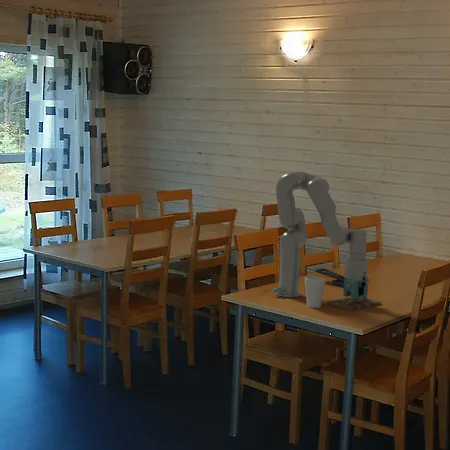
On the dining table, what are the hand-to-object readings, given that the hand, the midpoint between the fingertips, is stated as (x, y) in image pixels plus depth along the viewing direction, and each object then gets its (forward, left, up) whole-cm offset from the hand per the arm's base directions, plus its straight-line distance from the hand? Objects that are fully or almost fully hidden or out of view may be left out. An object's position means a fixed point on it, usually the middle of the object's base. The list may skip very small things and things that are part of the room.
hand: (355, 293), depth 335 cm
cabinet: (0, 0, -1) cm, 1 cm away
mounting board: (0, 0, -5) cm, 5 cm away
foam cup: (-19, +8, -5) cm, 21 cm away
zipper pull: (+23, +33, -6) cm, 40 cm away
